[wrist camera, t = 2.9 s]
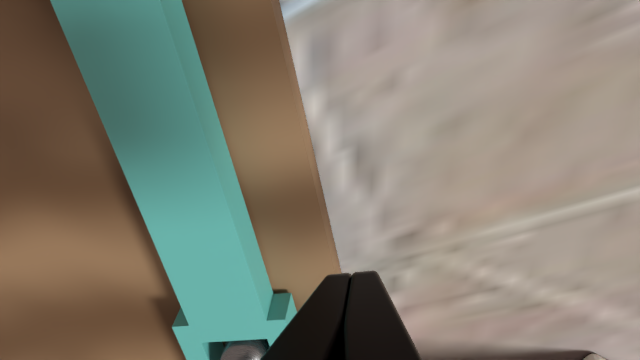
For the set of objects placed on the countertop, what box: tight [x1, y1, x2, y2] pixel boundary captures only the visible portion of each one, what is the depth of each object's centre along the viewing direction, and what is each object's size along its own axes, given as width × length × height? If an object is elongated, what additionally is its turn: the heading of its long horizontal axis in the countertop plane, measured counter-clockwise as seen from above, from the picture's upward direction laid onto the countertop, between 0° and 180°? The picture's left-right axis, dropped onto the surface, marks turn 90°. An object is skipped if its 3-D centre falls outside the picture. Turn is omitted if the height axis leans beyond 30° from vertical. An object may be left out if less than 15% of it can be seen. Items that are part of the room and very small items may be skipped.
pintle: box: [220, 339, 270, 360], centre depth 22 cm, size 2×2×3 cm
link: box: [50, 0, 297, 360], centre depth 18 cm, size 20×4×1 cm, turn 11°
